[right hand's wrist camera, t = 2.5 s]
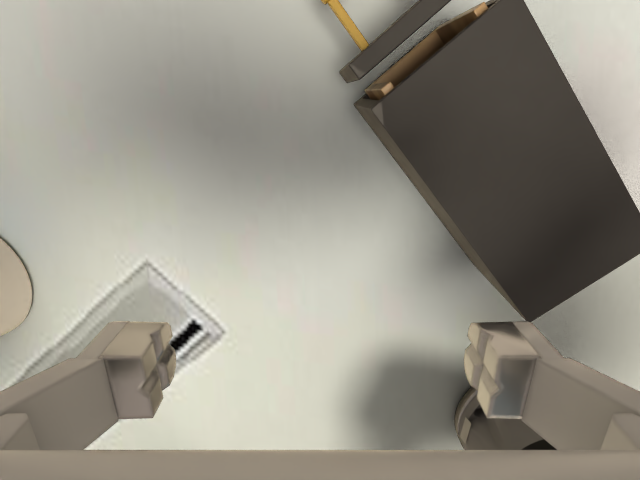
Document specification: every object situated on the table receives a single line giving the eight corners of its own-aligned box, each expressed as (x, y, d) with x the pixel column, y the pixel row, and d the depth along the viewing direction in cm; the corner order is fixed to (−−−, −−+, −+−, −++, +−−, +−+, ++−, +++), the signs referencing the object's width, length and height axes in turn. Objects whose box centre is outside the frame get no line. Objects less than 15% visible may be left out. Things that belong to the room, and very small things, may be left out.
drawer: (299, 18, 32) (294, -10, 23) (392, -70, 30) (424, -137, 21) (460, 236, 39) (503, 278, 31) (544, 177, 37) (616, 203, 29)
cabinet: (353, 104, 36) (370, 109, 25) (451, 20, 33) (516, -14, 23) (473, 264, 42) (528, 323, 31) (564, 202, 39) (656, 243, 29)
